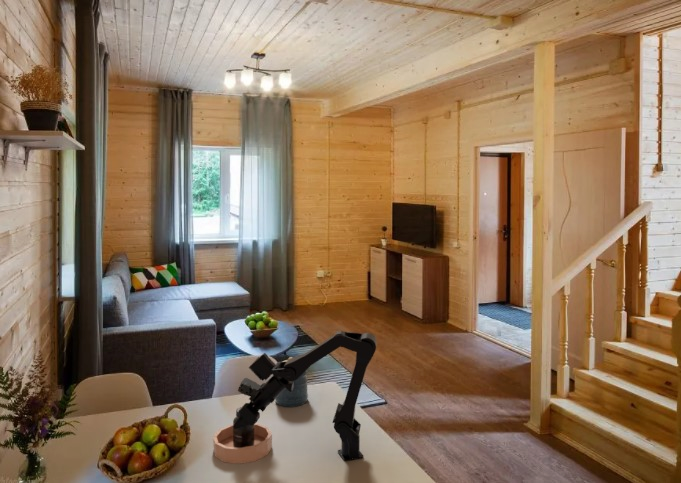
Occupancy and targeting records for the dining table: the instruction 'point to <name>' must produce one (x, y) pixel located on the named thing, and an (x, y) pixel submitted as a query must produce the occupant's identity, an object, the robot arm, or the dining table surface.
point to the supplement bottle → (242, 434)
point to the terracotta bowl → (245, 454)
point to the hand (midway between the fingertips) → (238, 421)
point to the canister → (294, 392)
